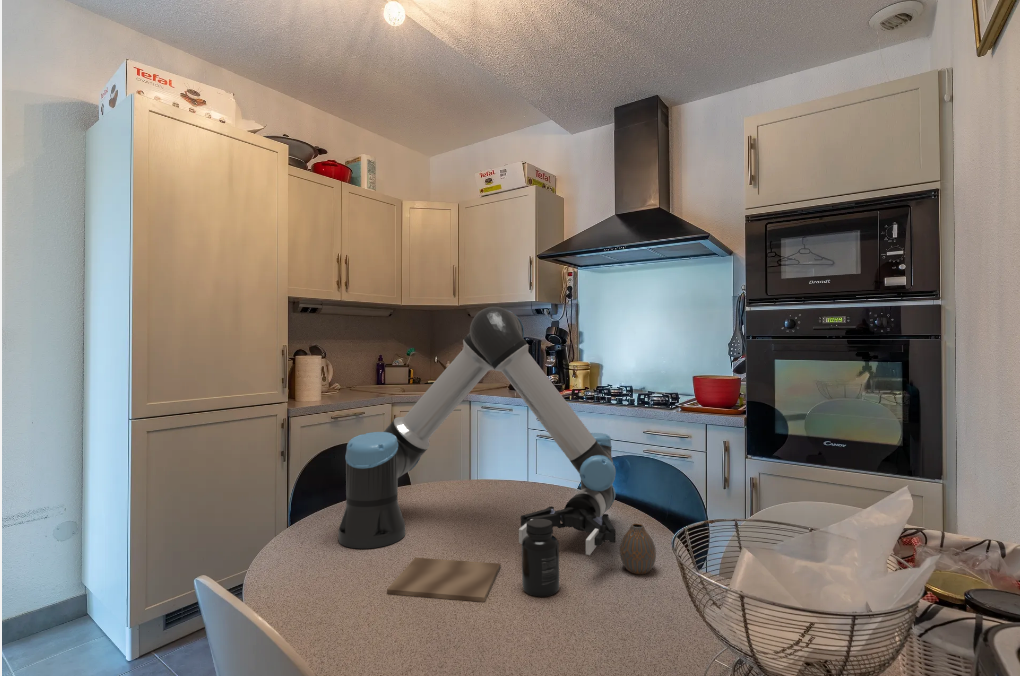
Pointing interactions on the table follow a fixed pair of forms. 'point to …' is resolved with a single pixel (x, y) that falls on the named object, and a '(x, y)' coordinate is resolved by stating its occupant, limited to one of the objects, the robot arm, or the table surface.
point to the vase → (637, 550)
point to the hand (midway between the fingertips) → (553, 541)
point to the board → (446, 579)
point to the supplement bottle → (540, 559)
